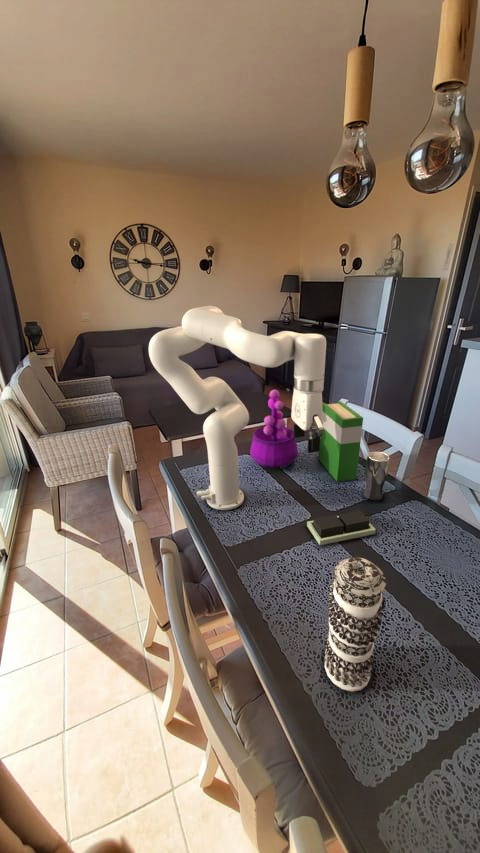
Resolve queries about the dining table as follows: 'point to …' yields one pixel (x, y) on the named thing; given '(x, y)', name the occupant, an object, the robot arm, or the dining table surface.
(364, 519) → the seated pad
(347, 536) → the tray
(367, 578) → the decorative candle
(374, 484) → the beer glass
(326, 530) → the black rectangular block
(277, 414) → the decorative plant
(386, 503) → the dining table surface
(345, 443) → the hardback book
